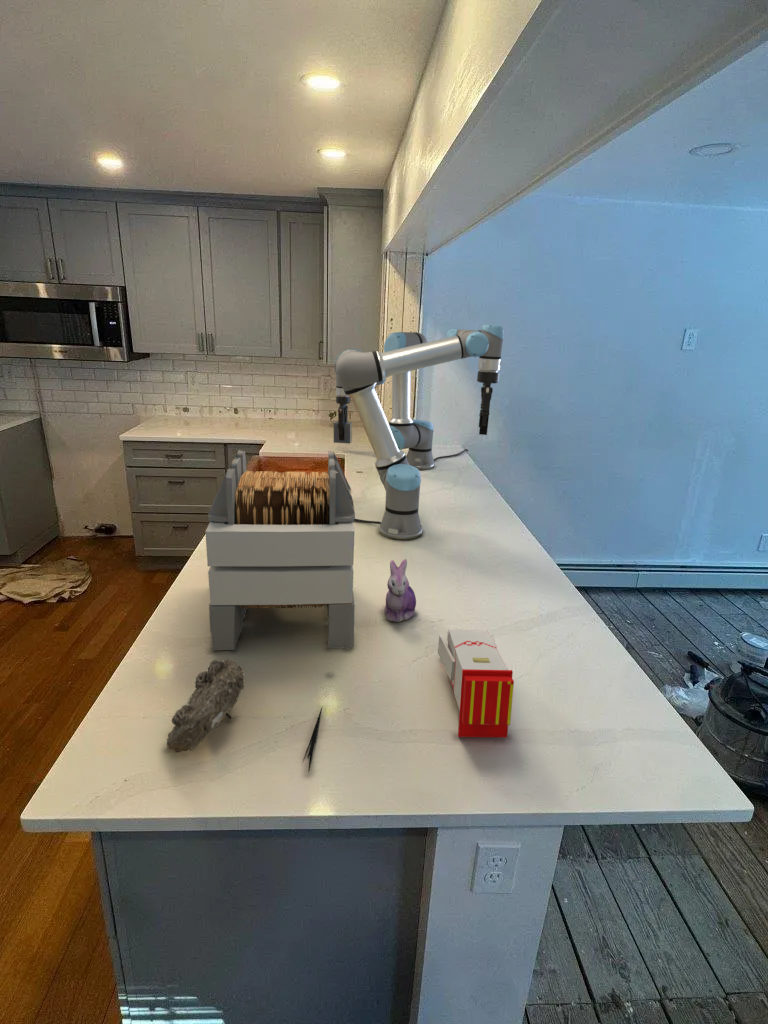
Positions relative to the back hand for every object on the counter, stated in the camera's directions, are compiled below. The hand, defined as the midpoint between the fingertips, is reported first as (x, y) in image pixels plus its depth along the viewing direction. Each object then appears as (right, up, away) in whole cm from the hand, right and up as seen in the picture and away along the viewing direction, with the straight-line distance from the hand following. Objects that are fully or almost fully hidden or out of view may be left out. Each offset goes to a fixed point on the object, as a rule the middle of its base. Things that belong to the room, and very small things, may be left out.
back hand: (342, 438), depth 309 cm
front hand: (+58, -10, -103) cm, 119 cm away
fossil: (-10, -79, -201) cm, 216 cm away
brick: (0, -2, +1) cm, 2 cm away
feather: (+10, -80, -201) cm, 216 cm away
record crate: (-2, -66, -164) cm, 177 cm away
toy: (+40, -78, -191) cm, 210 cm away
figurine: (+26, -67, -162) cm, 177 cm away
